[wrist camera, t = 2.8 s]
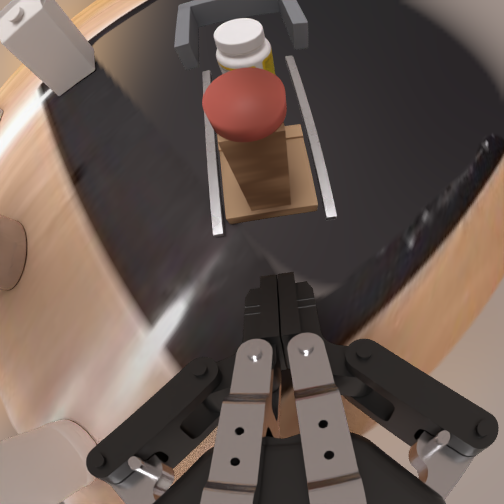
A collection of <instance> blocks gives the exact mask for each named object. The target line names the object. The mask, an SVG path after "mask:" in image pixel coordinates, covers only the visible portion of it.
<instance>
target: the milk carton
mask: <svg viewBox="0 0 504 504" xmlns="http://www.w3.org/2000/svg"><path fill="white" fill-rule="evenodd" d="M0 40H1V43H2V44H3V45H4V46H5V47H6V48H7V49H8V50H9V51H10V52H11V53H13V54H14V55H15V56H16V57H17V58H18V59H19V60H20V61H21V62H22V63H23V64H24V65H25V66H26V67H28V68H29V69H30V70H31V71H32V72H33V73H34V74H35V75H36V76H37V77H38V78H39V79H41V80H42V81H43V82H44V83H45V84H46V85H47V86H48V87H49V88H50V89H51V90H53V91H54V92H55V93H56V94H57V95H58V96H61V95H62V94H63V93H64V92H66V91H67V90H68V89H70V88H71V87H72V86H74V85H75V84H76V83H78V82H79V81H80V80H82V79H83V78H85V77H86V76H88V75H89V74H90V73H92V72H93V71H95V59H94V49H93V47H92V46H91V45H90V44H89V42H88V41H87V40H86V39H85V37H84V36H83V35H82V34H81V32H80V31H79V30H78V29H77V27H76V26H75V25H74V24H73V22H72V21H71V20H70V19H69V17H68V16H67V15H66V14H65V13H64V11H63V10H62V9H61V7H60V6H59V5H58V4H57V2H55V0H12V1H11V2H10V3H9V4H8V5H6V6H5V7H4V8H3V9H2V10H1V11H0Z"/></svg>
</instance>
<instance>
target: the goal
mask: <svg viewBox="0 0 504 504" xmlns="http://www.w3.org/2000/svg"><path fill="white" fill-rule="evenodd" d="M277 12H280V14H281V16H282V19H283V21H284V24H285V26H286V29H287V31H288V34H289V36H290V39H291V41H292V44H293V47H294V49H306V48H308V22H307V20H306V18H305V16H304V14H303V12H302V10H301V9H300V7H299V5H298V3H297V1H296V0H195V1H191V2H188V3H184V4H181V5H179V7H178V16H177V25H176V34H175V45H174V48H175V50H176V52H177V54H178V56H179V58H180V60H181V62H182V64H183V66H184V68H185V70H189V69H193V68H196V67H199V34H198V33H199V31H198V30H199V29H198V28H199V27H202V26H206V25H210V24H214V23H218V22H223V21H227V20H232V19H238V18H243V17H248V16H255V15H261V14H269V13H277Z"/></svg>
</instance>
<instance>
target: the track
mask: <svg viewBox="0 0 504 504" xmlns="http://www.w3.org/2000/svg"><path fill="white" fill-rule="evenodd" d="M286 64H287V67H288V70H289V73H290V77H291V80H292V83H293V86H294V90H295V93H296V97H297V100H298V104H299V107H300V111H301V115H302V118H303V122H304V126H305V130H306V133H307V138H308V142H309V146H310V150H311V154H312V158H313V162H314V166H315V171H316V175H317V180H318V184H319V189H320V194H321V198H322V203H323V208H324V213H325V218H326V220H332V219H336V217H337V215H336V210H335V205H334V201H333V197H332V192H331V187H330V183H329V179H328V174H327V170H326V166H325V162H324V158H323V154H322V150H321V146H320V143H319V139H318V135H317V132H316V128H315V124H314V121H313V117H312V114H311V111H310V107H309V104H308V101H307V97H306V94H305V91H304V88H303V85H302V82H301V78H300V75H299V73H298V70H297V67H296V64H295V61H294V58H293V56H286ZM211 83H212V75H211V72H210V70H209V71H204V72H203V95H204V93H205V91H206V89H207V88H208V86H209V85H210V84H211ZM204 116H205V133H206V150H207V165H208V177H209V178H208V179H209V192H210V204H211V216H212V227H213V235H214V236H215V237H221V236H225V228H224V218H223V208H222V197H221V187H220V176H219V165H218V153H217V143H216V142H217V141H216V132H215V131H214V129H213V128H212V126H211V124H210V122H209V120H208V118H207V116H206V114H205V112H204Z"/></svg>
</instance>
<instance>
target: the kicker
mask: <svg viewBox="0 0 504 504" xmlns="http://www.w3.org/2000/svg"><path fill="white" fill-rule="evenodd" d="M202 102H203V103H202V104H203V109H204V112H205V114H206V116H207V118H208V120H209V122H210V124H211V126H212V128H213V129H214V131H215V132H216V133H217V137H218V147H219V151H220V160H221V172H222V182H223V193H224V203H225V213H226V220H227V221H228V222H229V223H230V224H235V223H241V222H247V221H253V220H260V219H266V218H272V217H279V216H286V215H292V214H299V213H306V212H313V211H317V207H318V202H317V197H316V192H315V188H314V183H313V178H312V174H311V170H310V165H309V160H308V156H307V152H306V147H305V144H304V139H303V133H302V129H301V125H300V124H298V125H290V126H284V122H283V121H284V119H285V116H286V110H287V108H286V96H285V88H284V86H283V83H282V82H281V80H280V79H279V78H278V77H277V76H276V75H274V74H273V73H271V72H269V71H267V70H264V69H260V68H251V67H248V68H239V69H235V70H232V71H229V72H226V73H224V74H222V75H221V76H219V77H218V78H216V79H215V80H214V81H213V82H212V83H211V84H210V85H209V86H208V88H207V89H206V91H205V93H204V95H203V101H202Z"/></svg>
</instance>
